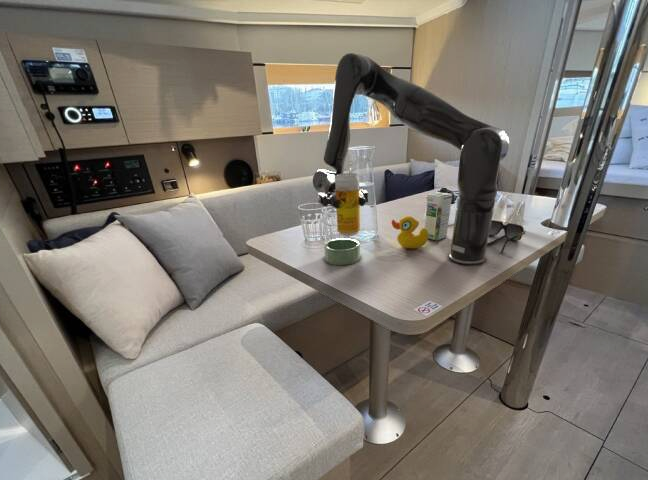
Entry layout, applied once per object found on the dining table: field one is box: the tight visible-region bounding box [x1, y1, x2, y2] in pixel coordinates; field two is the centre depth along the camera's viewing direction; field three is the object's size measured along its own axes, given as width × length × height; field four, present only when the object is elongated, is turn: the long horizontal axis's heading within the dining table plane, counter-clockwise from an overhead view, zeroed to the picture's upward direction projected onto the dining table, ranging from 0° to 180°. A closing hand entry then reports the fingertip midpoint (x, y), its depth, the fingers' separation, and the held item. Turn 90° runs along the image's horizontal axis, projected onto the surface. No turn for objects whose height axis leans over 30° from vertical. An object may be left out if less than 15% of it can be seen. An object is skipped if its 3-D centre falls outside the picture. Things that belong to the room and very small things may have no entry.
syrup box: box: [424, 191, 453, 241], centre depth 105 cm, size 6×6×14 cm
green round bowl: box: [323, 238, 361, 266], centre depth 95 cm, size 10×10×4 cm
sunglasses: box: [489, 220, 527, 254], centre depth 101 cm, size 14×15×5 cm
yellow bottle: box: [335, 172, 361, 237], centre depth 83 cm, size 6×6×15 cm
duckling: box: [391, 215, 429, 249], centre depth 98 cm, size 11×5×10 cm, turn 74°
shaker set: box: [492, 194, 526, 227], centre depth 112 cm, size 12×4×11 cm, turn 30°
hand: (350, 203), depth 80 cm, fingers closed on yellow bottle, 6 cm apart
